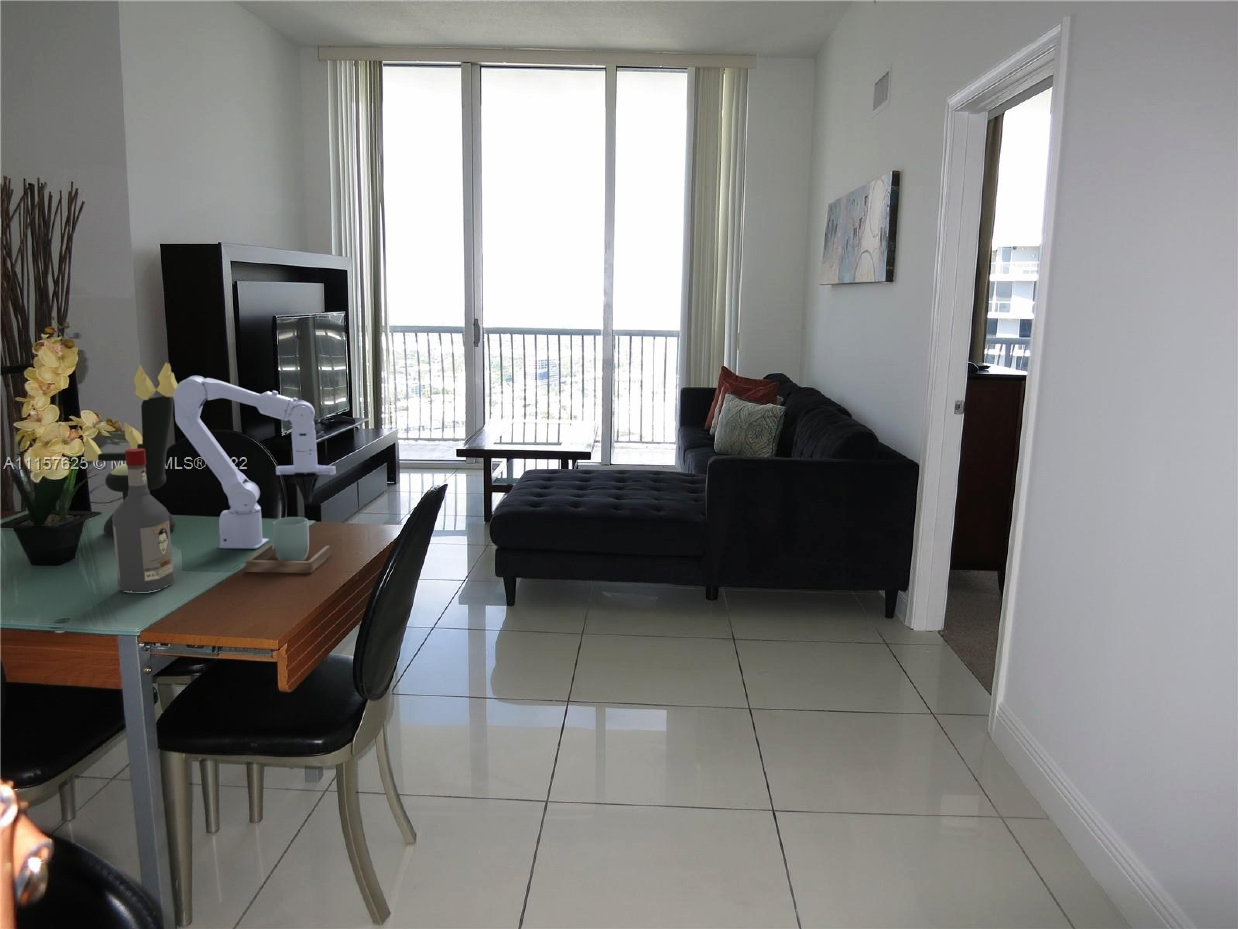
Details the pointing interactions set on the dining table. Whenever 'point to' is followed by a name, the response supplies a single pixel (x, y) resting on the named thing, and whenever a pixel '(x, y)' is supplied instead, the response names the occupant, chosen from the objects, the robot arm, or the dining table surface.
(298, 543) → the cup
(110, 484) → the flowering cactus
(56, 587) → the dining table surface
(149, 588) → the liquor
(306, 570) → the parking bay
